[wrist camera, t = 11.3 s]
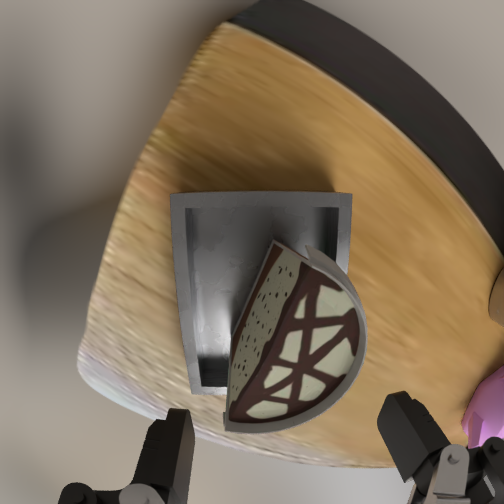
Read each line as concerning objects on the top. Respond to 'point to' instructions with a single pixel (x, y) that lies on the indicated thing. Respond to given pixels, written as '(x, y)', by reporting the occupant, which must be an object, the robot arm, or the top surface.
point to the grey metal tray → (240, 260)
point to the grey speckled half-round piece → (293, 343)
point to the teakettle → (486, 411)
